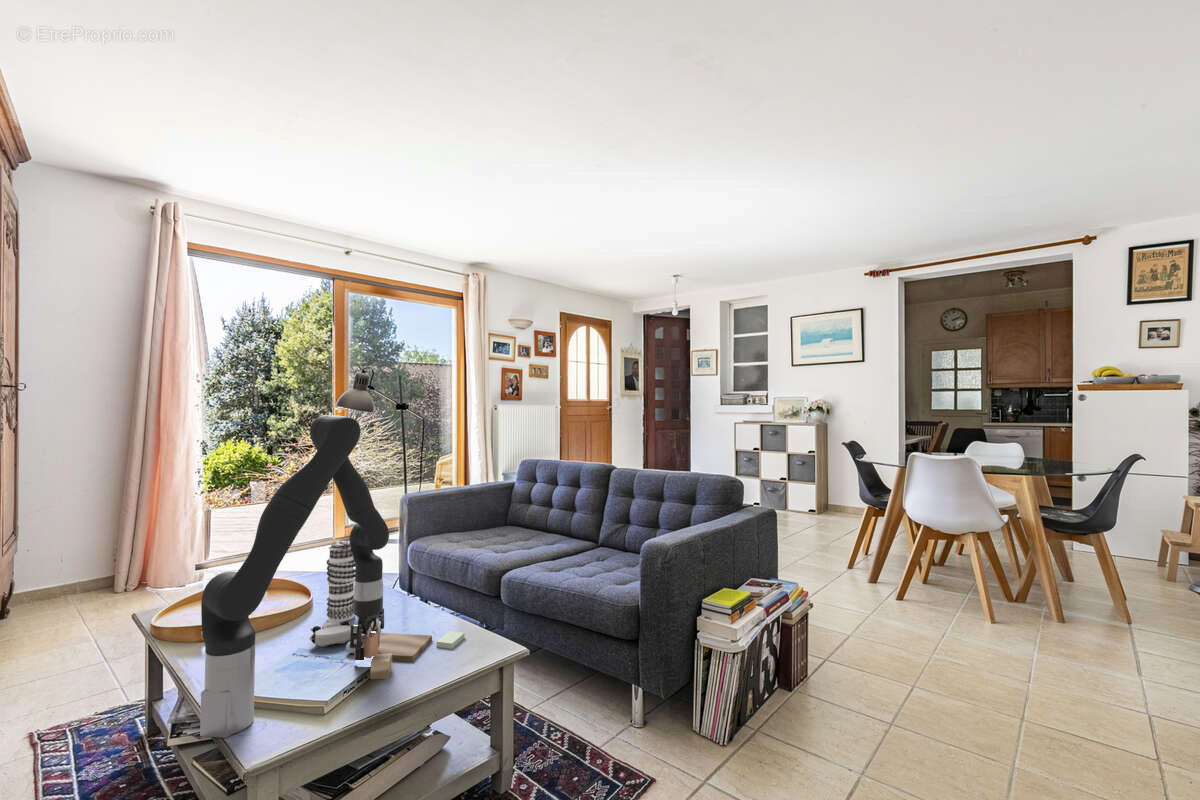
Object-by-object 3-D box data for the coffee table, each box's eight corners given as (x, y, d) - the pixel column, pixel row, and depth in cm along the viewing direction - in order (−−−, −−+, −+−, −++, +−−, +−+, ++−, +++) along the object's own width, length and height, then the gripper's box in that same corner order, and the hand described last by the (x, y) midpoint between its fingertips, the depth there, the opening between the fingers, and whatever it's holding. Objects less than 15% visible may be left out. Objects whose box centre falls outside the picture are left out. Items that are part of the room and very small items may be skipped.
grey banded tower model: (345, 623, 180) (346, 546, 180) (319, 621, 181) (320, 545, 181) (361, 613, 189) (362, 539, 189) (336, 611, 190) (338, 538, 190)
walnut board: (412, 661, 154) (412, 656, 154) (357, 658, 155) (357, 653, 155) (431, 640, 168) (432, 635, 168) (381, 637, 169) (381, 632, 169)
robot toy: (308, 638, 171) (310, 653, 158) (308, 623, 171) (310, 637, 158) (351, 630, 177) (357, 645, 164) (352, 616, 177) (357, 629, 164)
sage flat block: (451, 650, 162) (452, 643, 162) (436, 648, 163) (436, 641, 163) (464, 639, 170) (464, 632, 170) (449, 637, 171) (449, 631, 171)
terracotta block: (370, 667, 150) (370, 638, 150) (354, 667, 150) (354, 637, 150) (378, 660, 154) (378, 631, 154) (362, 659, 155) (363, 630, 155)
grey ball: (355, 656, 156) (355, 643, 157) (343, 655, 157) (343, 643, 157) (362, 650, 160) (362, 638, 160) (350, 650, 160) (350, 637, 160)
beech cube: (388, 678, 144) (388, 661, 145) (370, 679, 144) (370, 662, 144) (391, 670, 149) (392, 653, 149) (374, 671, 148) (374, 654, 148)
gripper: (368, 605, 146) (367, 667, 145) (393, 587, 160) (392, 643, 160) (341, 603, 146) (340, 665, 146) (368, 586, 161) (367, 642, 160)
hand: (367, 654), depth 153 cm, fingers open, 8 cm apart
